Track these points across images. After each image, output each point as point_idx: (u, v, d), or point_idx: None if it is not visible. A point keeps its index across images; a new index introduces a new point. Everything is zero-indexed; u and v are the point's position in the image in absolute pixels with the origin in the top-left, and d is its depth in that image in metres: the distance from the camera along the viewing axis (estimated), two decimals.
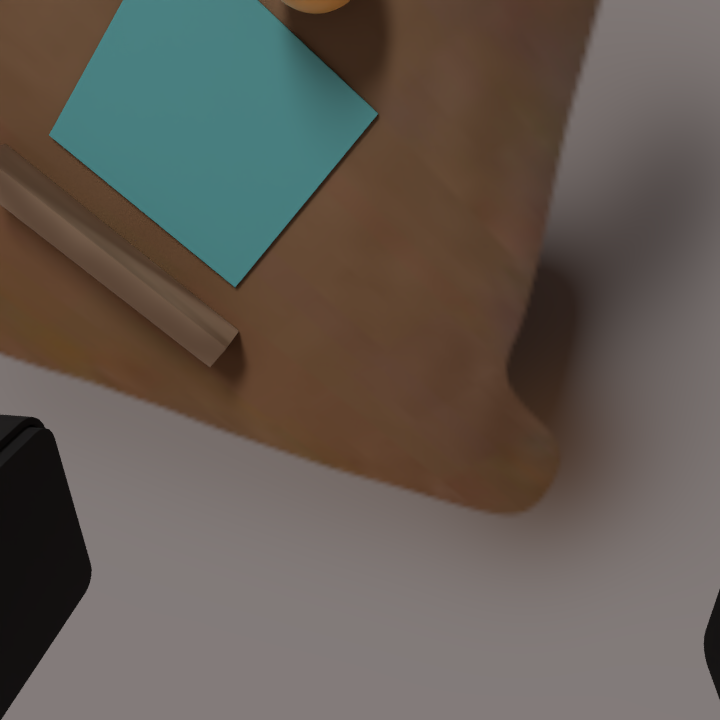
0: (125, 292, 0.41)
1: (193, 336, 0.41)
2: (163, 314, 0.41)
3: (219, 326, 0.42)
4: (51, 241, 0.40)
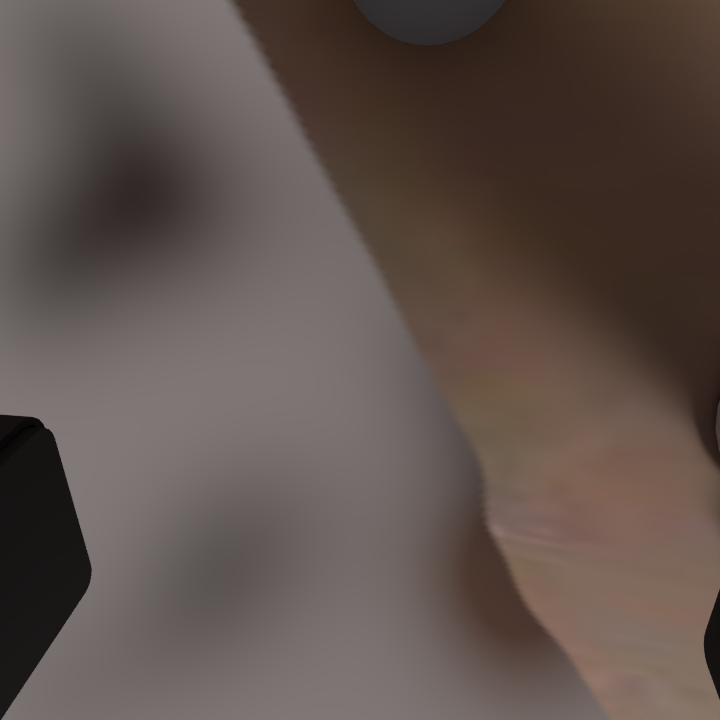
0: None
1: None
2: None
3: None
4: None
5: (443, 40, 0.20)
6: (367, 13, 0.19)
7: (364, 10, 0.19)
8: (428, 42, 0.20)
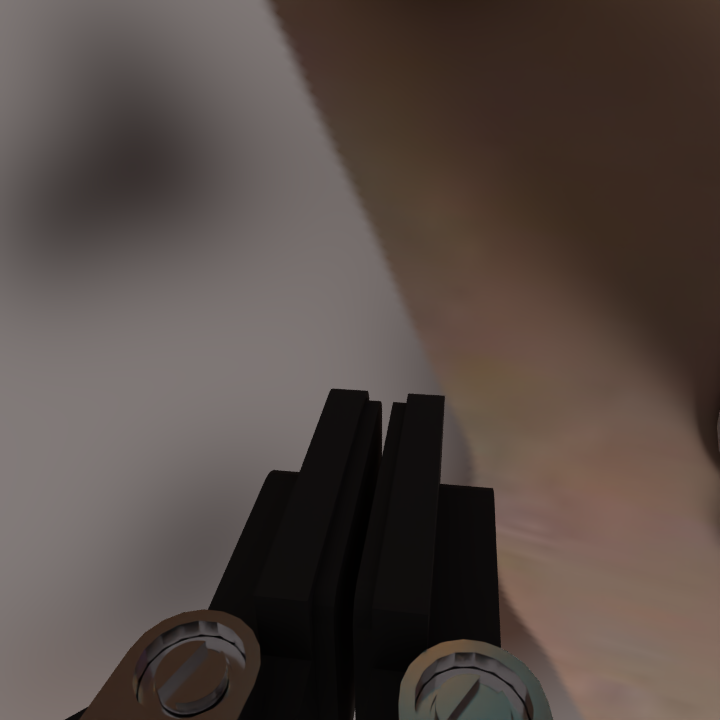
0: None
1: None
2: None
3: None
4: None
5: None
6: None
7: None
8: None
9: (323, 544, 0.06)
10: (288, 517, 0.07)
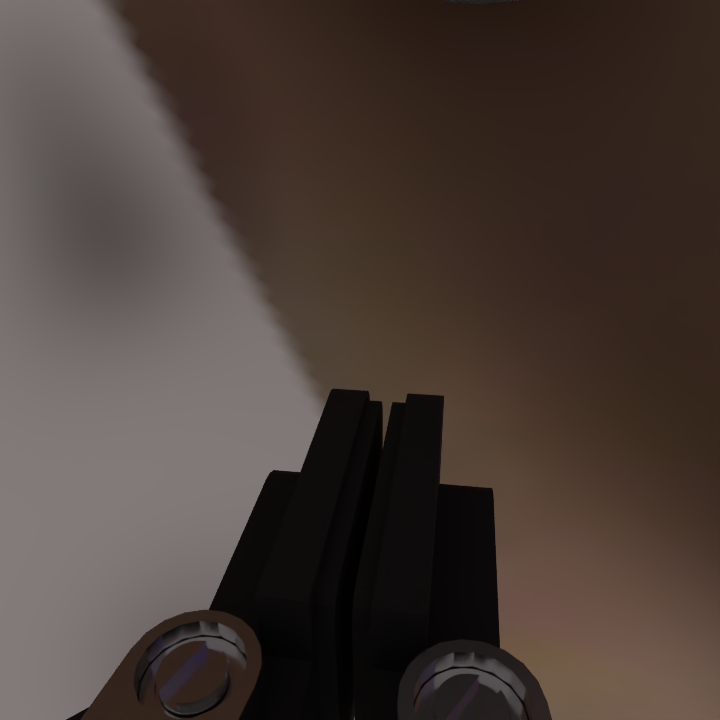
0: None
1: None
2: None
3: None
4: None
5: None
6: None
7: None
8: None
9: (324, 544, 0.06)
10: (289, 517, 0.07)
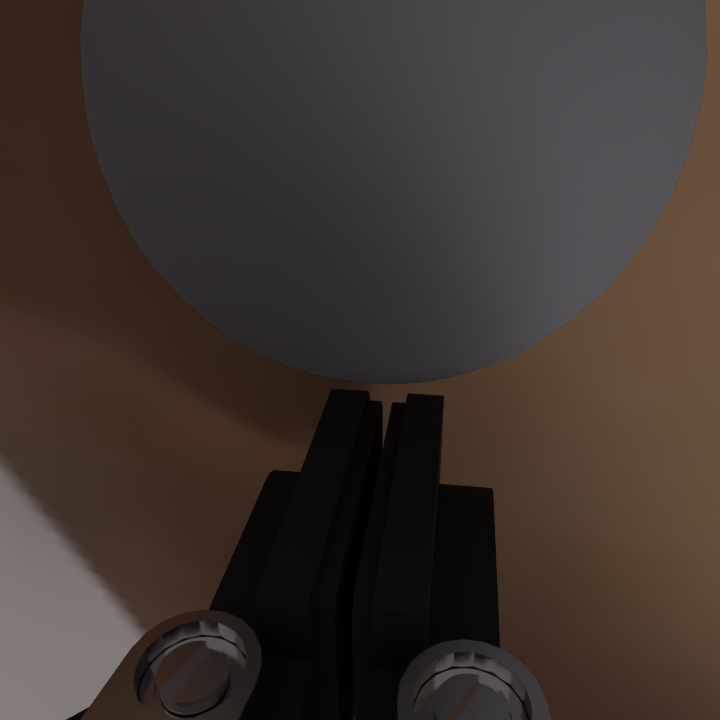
0: None
1: None
2: None
3: None
4: None
5: None
6: None
7: None
8: None
9: (324, 544, 0.06)
10: (289, 518, 0.07)
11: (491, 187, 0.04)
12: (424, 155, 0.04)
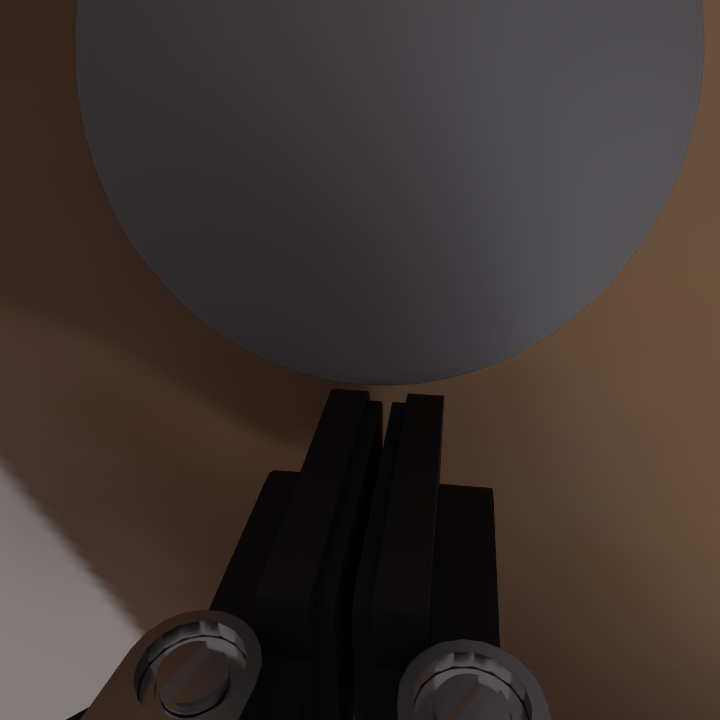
0: None
1: None
2: None
3: None
4: None
5: None
6: None
7: None
8: None
9: (324, 544, 0.06)
10: (289, 517, 0.07)
11: (487, 187, 0.04)
12: (420, 155, 0.04)
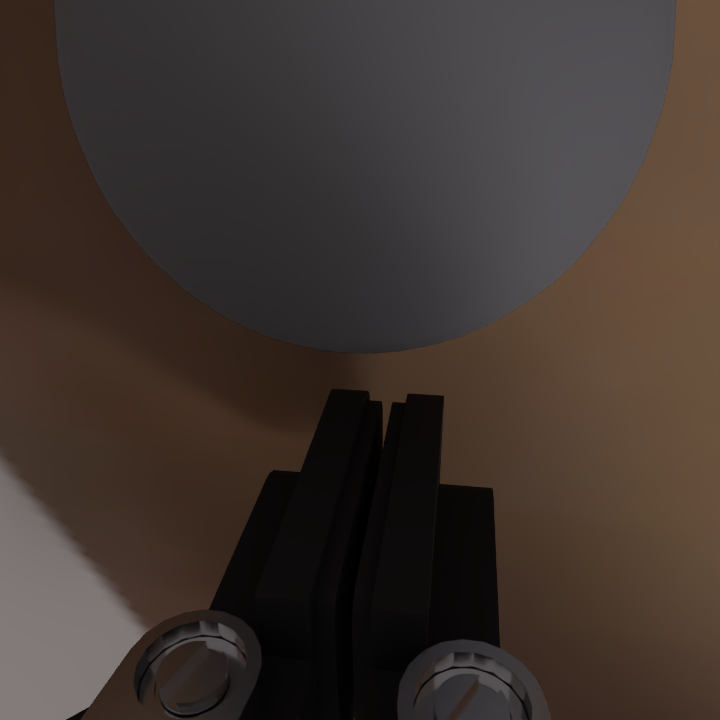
0: None
1: None
2: None
3: None
4: None
5: None
6: None
7: None
8: None
9: (324, 545, 0.06)
10: (289, 518, 0.07)
11: (457, 145, 0.04)
12: (391, 112, 0.04)
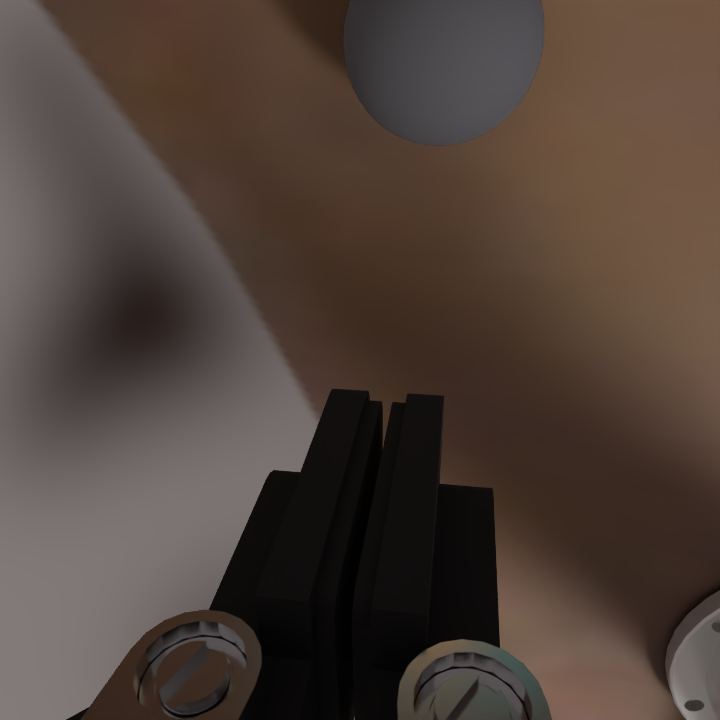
0: None
1: None
2: None
3: None
4: None
5: None
6: None
7: None
8: None
9: (324, 544, 0.06)
10: (289, 517, 0.07)
11: (476, 55, 0.16)
12: (459, 45, 0.16)
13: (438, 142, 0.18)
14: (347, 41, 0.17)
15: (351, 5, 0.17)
